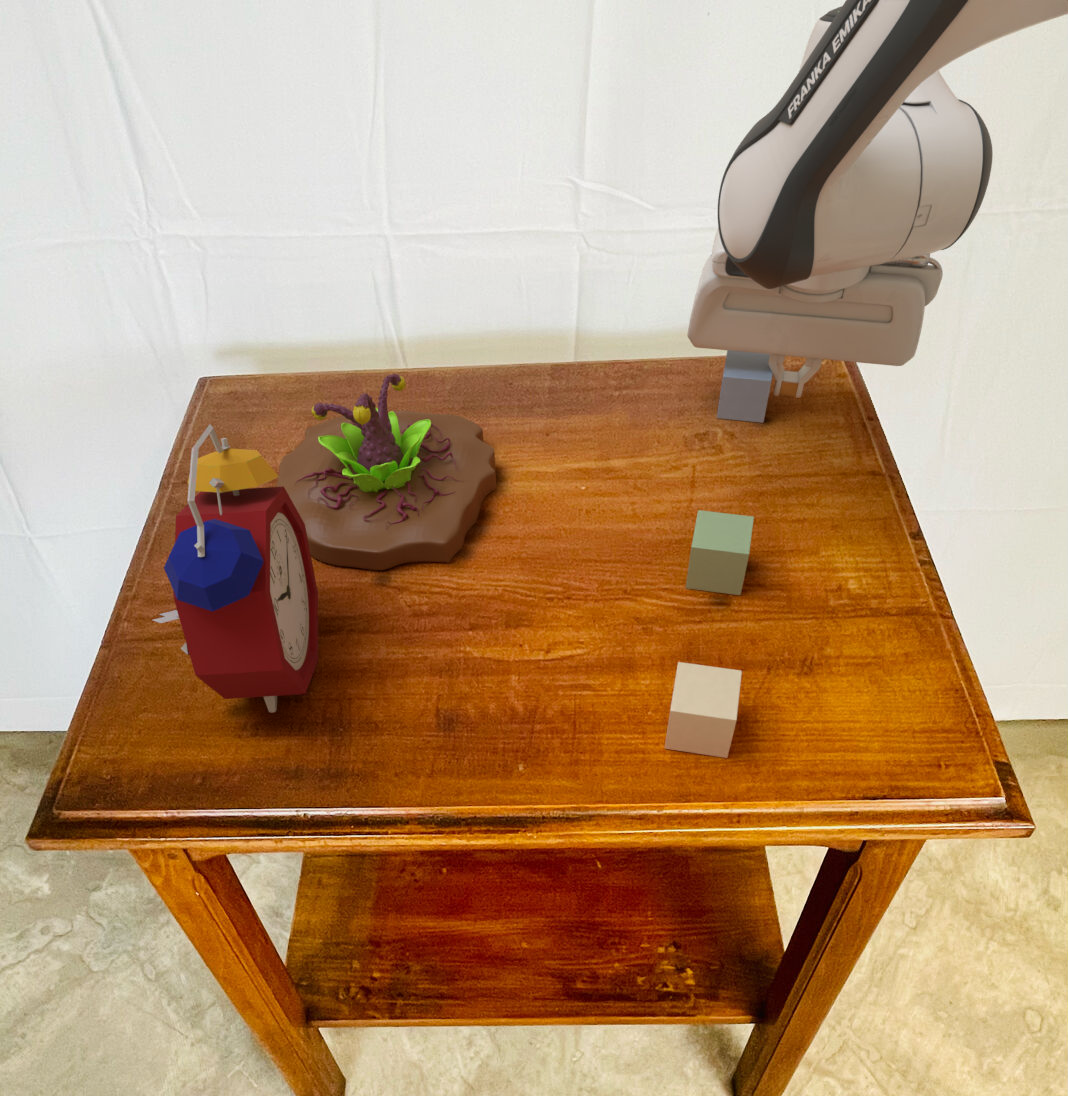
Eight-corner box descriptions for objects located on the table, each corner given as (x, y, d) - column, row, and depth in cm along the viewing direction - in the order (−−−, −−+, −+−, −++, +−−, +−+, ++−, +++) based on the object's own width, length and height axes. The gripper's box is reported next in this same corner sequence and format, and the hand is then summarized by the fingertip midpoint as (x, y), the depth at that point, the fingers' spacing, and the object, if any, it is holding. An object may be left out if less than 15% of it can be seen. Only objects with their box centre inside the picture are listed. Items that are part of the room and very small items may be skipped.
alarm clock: (312, 735, 67) (228, 523, 50) (195, 742, 67) (73, 532, 50) (328, 593, 75) (261, 373, 59) (225, 599, 75) (129, 381, 59)
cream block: (672, 700, 67) (678, 661, 64) (732, 709, 67) (742, 670, 63) (664, 748, 65) (670, 710, 61) (727, 758, 64) (736, 720, 60)
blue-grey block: (721, 392, 90) (727, 349, 86) (766, 396, 89) (775, 353, 86) (716, 418, 87) (722, 376, 84) (763, 423, 87) (771, 380, 83)
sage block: (692, 551, 77) (698, 509, 73) (745, 558, 76) (754, 516, 72) (685, 588, 74) (691, 546, 70) (740, 595, 73) (749, 554, 70)
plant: (249, 565, 78) (206, 454, 68) (308, 428, 89) (277, 317, 80) (478, 577, 76) (465, 466, 67) (508, 436, 87) (500, 324, 78)
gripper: (948, 235, 75) (898, 385, 87) (703, 218, 78) (686, 365, 90) (951, 273, 72) (899, 424, 83) (695, 253, 75) (678, 402, 86)
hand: (787, 393), depth 86 cm, fingers closed
